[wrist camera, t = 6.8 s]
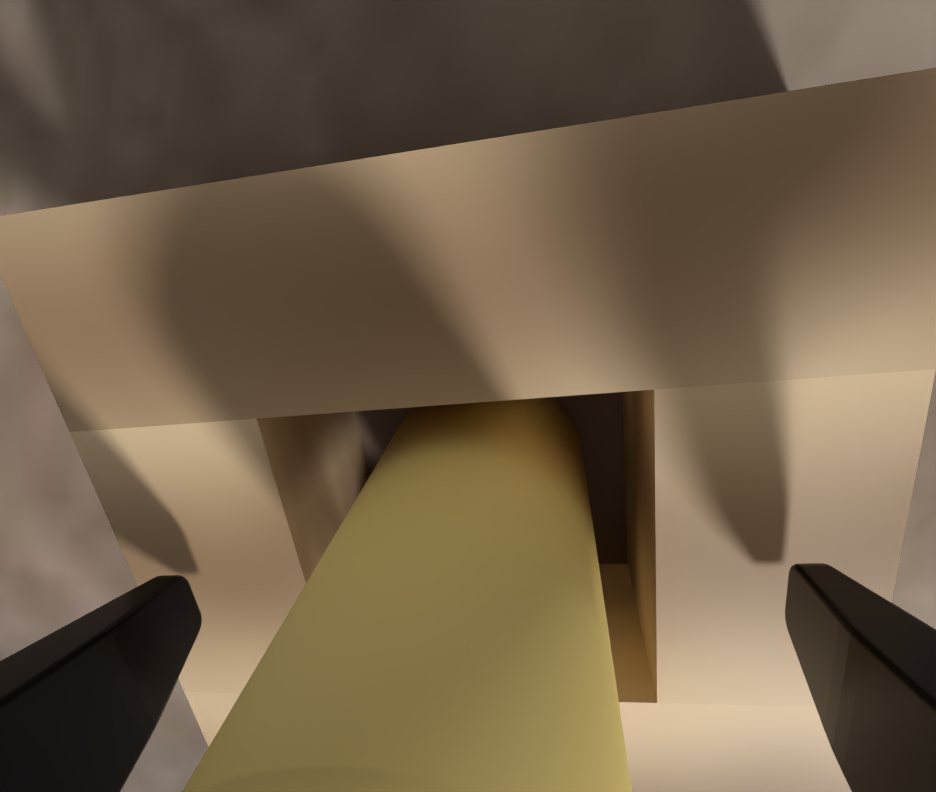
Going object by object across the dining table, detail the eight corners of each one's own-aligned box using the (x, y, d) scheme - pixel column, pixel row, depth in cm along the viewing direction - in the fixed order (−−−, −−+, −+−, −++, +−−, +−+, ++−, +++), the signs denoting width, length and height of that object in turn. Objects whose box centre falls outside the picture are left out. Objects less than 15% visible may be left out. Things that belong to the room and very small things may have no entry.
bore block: (747, 746, 15) (823, 961, 11) (343, 732, 17) (279, 908, 13) (796, 110, 9) (995, 58, 5) (182, 203, 11) (-24, 219, 7)
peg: (587, 534, 12) (660, 1099, 5) (414, 540, 13) (232, 1041, 5) (576, 362, 11) (652, 778, 3) (381, 379, 11) (72, 756, 4)
